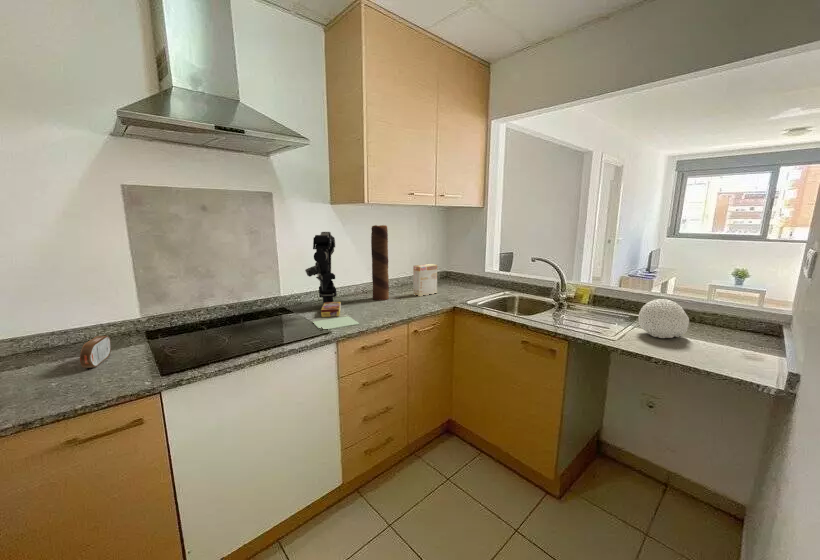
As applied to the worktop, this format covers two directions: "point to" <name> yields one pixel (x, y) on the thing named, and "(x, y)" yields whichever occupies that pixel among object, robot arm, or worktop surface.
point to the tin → (95, 351)
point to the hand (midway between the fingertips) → (324, 291)
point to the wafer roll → (380, 262)
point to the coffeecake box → (424, 279)
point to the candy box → (331, 309)
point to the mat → (336, 323)
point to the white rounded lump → (663, 319)
